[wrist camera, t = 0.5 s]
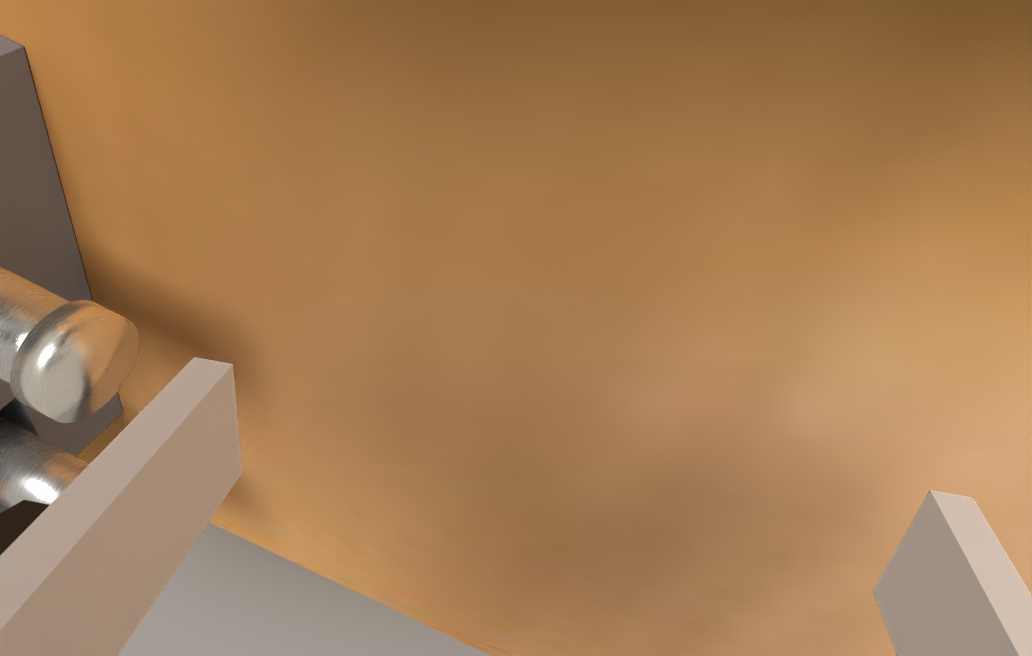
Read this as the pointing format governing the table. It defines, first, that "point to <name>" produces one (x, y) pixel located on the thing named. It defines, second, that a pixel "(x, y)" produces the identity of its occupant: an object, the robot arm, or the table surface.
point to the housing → (37, 235)
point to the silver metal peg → (61, 350)
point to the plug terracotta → (33, 467)
